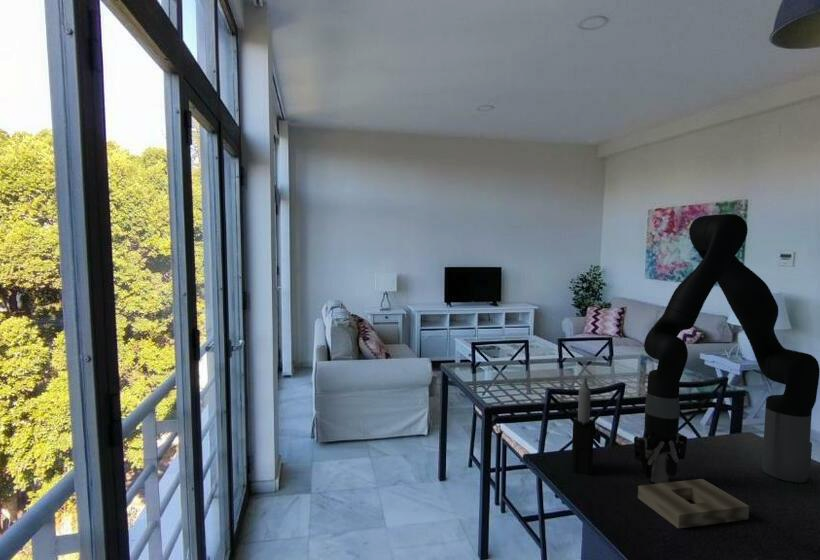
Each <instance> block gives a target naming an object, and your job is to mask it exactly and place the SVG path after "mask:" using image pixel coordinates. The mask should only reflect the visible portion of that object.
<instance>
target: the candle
mask: <svg viewBox="0 0 820 560" xmlns="http://www.w3.org/2000/svg"><path fill="white" fill-rule="evenodd" d="M587 379H588V378H587V377H583V382H582V385H581V386H580V388H579V389H578V403H577V404H578V407H577V408H578V409H577V417H576V418H574V419H573V422H572V438H571V439H572V441H571V444H572V445H571V467H570V468H571V471H572V472H573V473H575V474H576V473H579V474H582V475H585V476H591V475H593V468H594V467H593V466H594V465H593V464H594V463H593V462H594V436H595V435H594V434H595V422H594V421H593V420H592V419H591V397H592V396H591V395H592V394H591V393H592V391H591V389H590V387H589V385H588V380H587Z"/></svg>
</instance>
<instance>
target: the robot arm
mask: <svg viewBox="0 0 820 560" xmlns="http://www.w3.org/2000/svg"><path fill="white" fill-rule="evenodd" d="M748 229H749V228H748V224H747V222H746V220H745V218H743V217H742V216H741V215H738V214H734V213H724V214H723V213H721V214H709V215H703V216H702V215H701V216H699V217H697V218H695V219H694V220H693V221H692V222H691V224H690V226H689V231H688V235H689V240H690V242H691V244H692V246H693V247H694V249H695V251H696V253H698V255H699V256H700V258H701V261H700V263H699V264H698V265H697V266H696V267H695V268H694V269H693V271H692V272H691V273H690V274H688V275H687V276H686V277H685V278H684V279H683V280H682V281H681V283H679V284H678V285H677V287H676V288H675V290H674V291H673V293H672V295H671V297H670V299H669V301H668V303H667V306H666V308H665V310H664V313H663V314H662V316H661V317H659V318H658V320H656V322H655V323H654V325H653V326H652V327H651V328H650V330H649V331H648V332H647V334H646V336H645V339H644V343H643V344H644V345H643V346H644V347H643V349H644V351H645V353H646V355H648V356H649V357H650V358H651V359H654V360H657V362H658V363H657V366H656V369H652V370H650V371H649V373H648V376H647V388H646V398H645V404H644V405H645V406H644V409H645V411H644V428H645V434H644V436H641V437H639V436H638V435H636V436H634V437H633V447H634V450H633V451H634V459H635V460H637V461H639V462H640V463H641V475H643V477H645V478H646V479H648V480H650V479H651V478H652V469H653V465H652V463H654V458H656V457H657V455H658V453H662V452H666V454H667V457H666V466H665V470H666V472H667V475H668V476H670V477H676V474H677V472H678V471H677V467H678V462H679V461H680V460H685V457H686V451H687V444H688V437H687V436H685V435H684V434H681V433H679V431H680V430H679V427H680V408H681V407H680V382H681V378H682V376H683V373H684V370H685V367H686V364H687V362H688V359H689V358H688V356H689V351H688V347H687V344H686V342H685V341H684V340H683V339H682V338H680V337H679V335H680V333H682V331H686V330H690V329H692V328H693V327H694V325H695V324H696V321H697V319H698V317H699V316H700V313H701V311H702V309H703V306H704V304H705V302H706V300H707V298H708V297H709V295H710V293H711V292H712V290H713V288H714V287H715V286H716V283H717V284H718V286H719V288H720V290H721V291H722V293H723V295H724V297H725V299H726V301H727V303H728V304H729V306H730V309H731V310H732V312H733V314H734V316H735V317H736V319H737V321H738V322H739V324H740V326H741V328H742V330H743V332H744V334H745V336H746V338H747V340H748V342H749V344H750V346H751V348H752V349H751V350H752V352H753V354H754V357H755V360H756V363H757V365H758V367H759V369H760V371H761V373H762V374H763V376H764V377H766V378H767V379H769V380H771V382H775V383H778V384H783V385H785V387H784V392H783V394H772V395H771V394H770V395H769V396H767V397H766V399H765V411H764V413H765V414H764V426H763V427H764V429H763V444H762V445H763V446H762V462H761V464H762V465H761V469H762V471H763V472H764V473H766V474H767V475H769V476H771V477H773V478H776V479H779V480H782V481H786V482H789V483H798V484H799V483H805V482H807V481H808V479H811V466H812V454H813V453H812V450H813V443H812V441H811V431H812V429H811V428H812V417H813V416H812V414H813V409H814V407H815V404H816V402H817V395H818V388H819V381H820V365H819V362H818V360H817V358H816V357H815V356H814V355H812V354H810V353H807V352H802V351H797V350H792V349H787V348H785V347H784V346H783V344H781V343H780V340H779V339H778V337H777V336H776V335H777V334H776V333H775V325H776V323H777V320H778V317H779V305H778V302H777V301H776V299H775V297H774V295H773V293H772V291H771V289H770V288H769V286H768V285H767V283H766V282H765V281H764V279H762V278H761V277H760V276H759V275H758V274H756V273H755V271H753V270H751V268H749V267H747V266H746V265H745V264H744V263H743V262H742V261H741V260H740V259H739V258H738V257H737V254H738V253H739V251H740V249H741V248H742V247H743V245H744V243H745V241H746V239H747V237H748ZM650 450H651V451H650Z"/></svg>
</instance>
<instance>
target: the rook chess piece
mask: <svg viewBox="0 0 820 560" xmlns="http://www.w3.org/2000/svg"><path fill="white" fill-rule="evenodd" d="M667 458H668V457H667V454H666V452H662V453H658V455H657V457H656V458H654V460H653V465H652V478H651V479H649V480H650V481H651V482H652V483H653V482H654V483H653V484H659V483H668V482H670V481H669V474H667V472H666V463H667Z"/></svg>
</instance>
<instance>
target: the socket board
mask: <svg viewBox="0 0 820 560" xmlns="http://www.w3.org/2000/svg"><path fill="white" fill-rule="evenodd" d="M637 487H638V489H637V499H638V500H640V501H641V502H643V504H645V505H647V506H648V507H649V508H650V509H652V510H653V511H654V512H656V513H657V514H659V515H660V516H661V517H662V518H664V519H665V520H666V521H668V522H669V523H670V524H672V525H673V526H674V528H677V529H686V528H694V527H703V526H708V525H717V524H723V523H729V522H730V523H731V522H739V521H740V522H741V521H747V520H749V516H750V506H749V505H748V504H746V503H745V502H743V501H741V500H739V499H738V498H737V497H734V496H733V495H731V494H729V493H727V492H725V491H724V490H722V489H721V488H720V487H719V488H718V487H717V486H715V485H714V484H712V483H710V482H709V481H707V480H705V479H703V478H698V479H688V480H680V481H669V482H668V483H659V484H656V483H650V484H642V485H638V486H637ZM689 501H692V502H694V503H690V502H689Z"/></svg>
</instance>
